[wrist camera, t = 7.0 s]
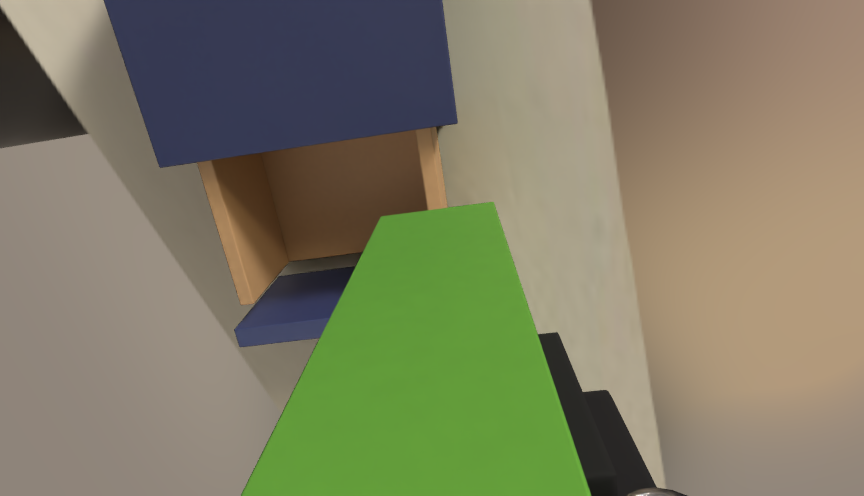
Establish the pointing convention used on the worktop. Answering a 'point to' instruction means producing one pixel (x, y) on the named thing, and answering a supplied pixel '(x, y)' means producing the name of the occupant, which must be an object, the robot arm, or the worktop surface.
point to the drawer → (312, 220)
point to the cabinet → (282, 72)
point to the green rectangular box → (426, 377)
